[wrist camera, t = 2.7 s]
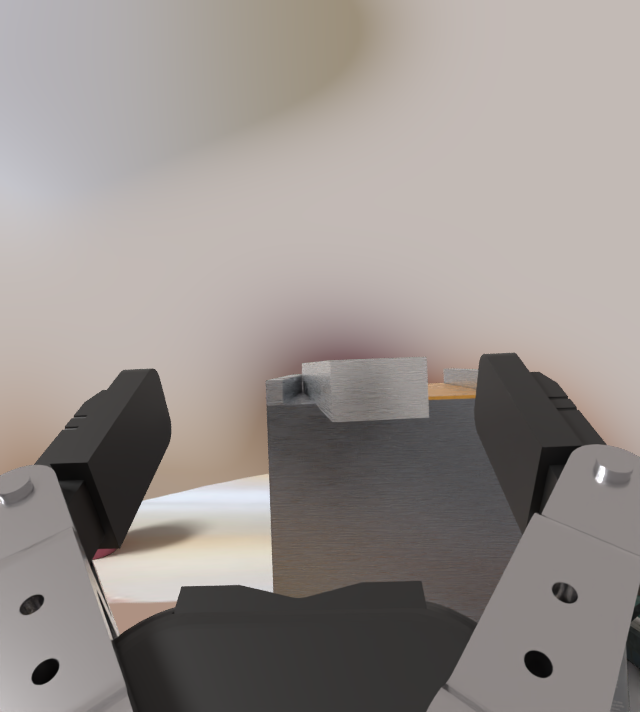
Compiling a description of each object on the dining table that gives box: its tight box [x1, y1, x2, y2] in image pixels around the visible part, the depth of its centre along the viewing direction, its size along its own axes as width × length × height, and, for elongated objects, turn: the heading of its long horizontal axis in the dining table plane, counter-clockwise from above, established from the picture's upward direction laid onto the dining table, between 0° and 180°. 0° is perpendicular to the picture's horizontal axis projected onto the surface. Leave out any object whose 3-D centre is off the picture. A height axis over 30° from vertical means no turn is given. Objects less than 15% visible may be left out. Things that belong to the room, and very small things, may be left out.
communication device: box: [626, 595, 640, 668], centre depth 60 cm, size 12×24×9 cm, turn 3°
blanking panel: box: [302, 357, 429, 422], centre depth 31 cm, size 24×4×2 cm, turn 5°
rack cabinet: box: [266, 369, 522, 623], centre depth 36 cm, size 16×15×34 cm
